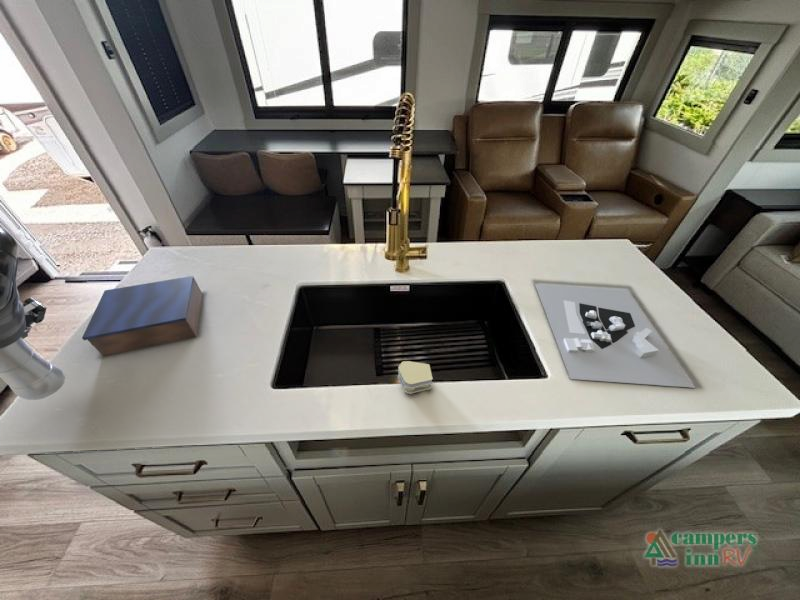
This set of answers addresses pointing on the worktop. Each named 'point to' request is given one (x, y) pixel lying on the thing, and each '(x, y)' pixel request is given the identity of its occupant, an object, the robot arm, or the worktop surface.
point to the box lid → (140, 307)
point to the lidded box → (154, 331)
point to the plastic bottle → (29, 372)
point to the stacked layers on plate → (414, 376)
